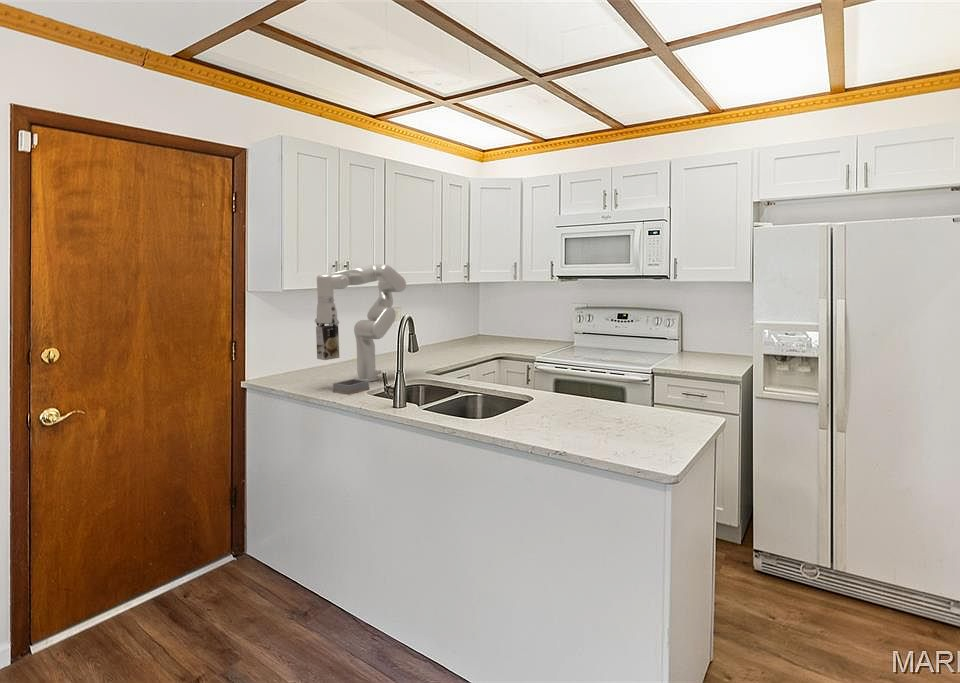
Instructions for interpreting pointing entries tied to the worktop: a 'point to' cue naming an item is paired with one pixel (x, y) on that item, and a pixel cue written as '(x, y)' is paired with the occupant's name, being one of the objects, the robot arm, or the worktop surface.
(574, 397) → the worktop surface
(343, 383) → the dock
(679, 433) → the worktop surface
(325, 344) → the coffee box
